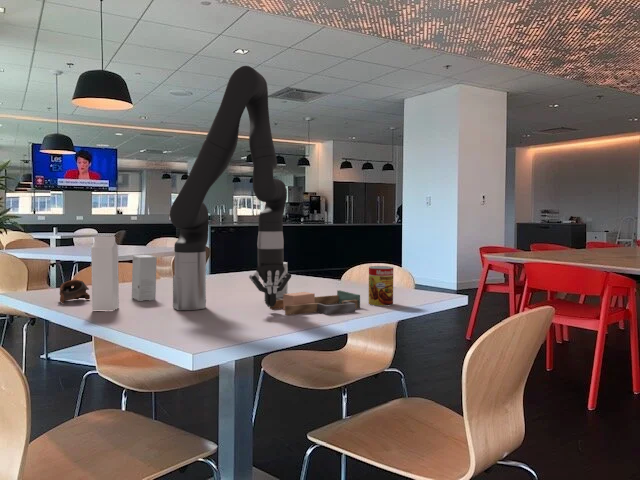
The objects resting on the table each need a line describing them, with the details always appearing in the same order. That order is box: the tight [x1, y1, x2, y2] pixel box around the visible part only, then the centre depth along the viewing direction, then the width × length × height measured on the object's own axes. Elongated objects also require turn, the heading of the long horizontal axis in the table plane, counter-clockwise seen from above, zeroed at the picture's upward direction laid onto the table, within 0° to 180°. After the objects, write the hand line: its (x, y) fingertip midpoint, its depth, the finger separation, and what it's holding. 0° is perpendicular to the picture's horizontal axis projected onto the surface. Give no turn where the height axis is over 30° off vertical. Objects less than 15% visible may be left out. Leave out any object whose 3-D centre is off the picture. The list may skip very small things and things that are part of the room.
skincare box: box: [131, 254, 158, 302], centre depth 175 cm, size 8×6×15 cm
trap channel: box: [269, 290, 361, 316], centre depth 158 cm, size 25×22×4 cm
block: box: [282, 291, 316, 311], centre depth 156 cm, size 8×5×5 cm, turn 129°
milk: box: [90, 235, 120, 311], centre depth 154 cm, size 6×6×22 cm
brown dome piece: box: [59, 279, 91, 304], centre depth 169 cm, size 12×10×8 cm
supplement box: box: [264, 261, 289, 302], centre depth 175 cm, size 7×7×13 cm
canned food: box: [368, 265, 394, 307], centre depth 167 cm, size 8×8×12 cm
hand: (270, 306), depth 151 cm, fingers closed
